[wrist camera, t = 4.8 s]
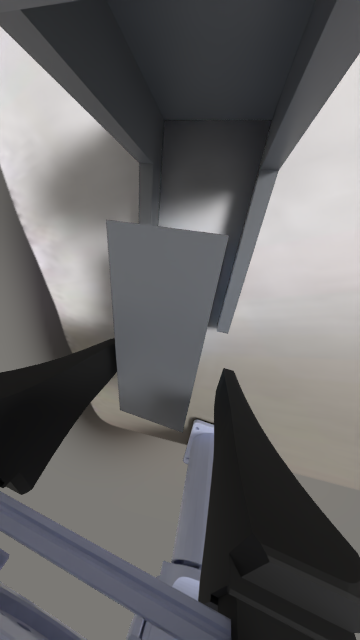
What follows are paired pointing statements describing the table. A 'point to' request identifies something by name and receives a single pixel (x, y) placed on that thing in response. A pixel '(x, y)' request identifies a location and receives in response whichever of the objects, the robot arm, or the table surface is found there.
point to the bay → (194, 77)
